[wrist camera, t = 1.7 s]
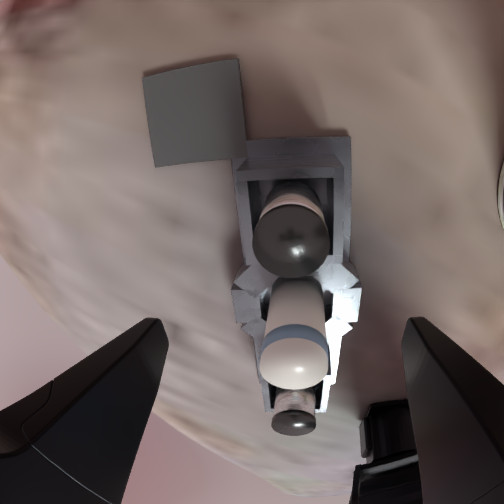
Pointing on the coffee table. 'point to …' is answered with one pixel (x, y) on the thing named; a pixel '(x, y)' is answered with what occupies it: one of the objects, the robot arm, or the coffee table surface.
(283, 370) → the cartridge
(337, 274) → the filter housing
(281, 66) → the coffee table surface
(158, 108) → the rubber pad
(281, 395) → the plunger
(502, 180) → the coffee can
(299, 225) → the plunger
